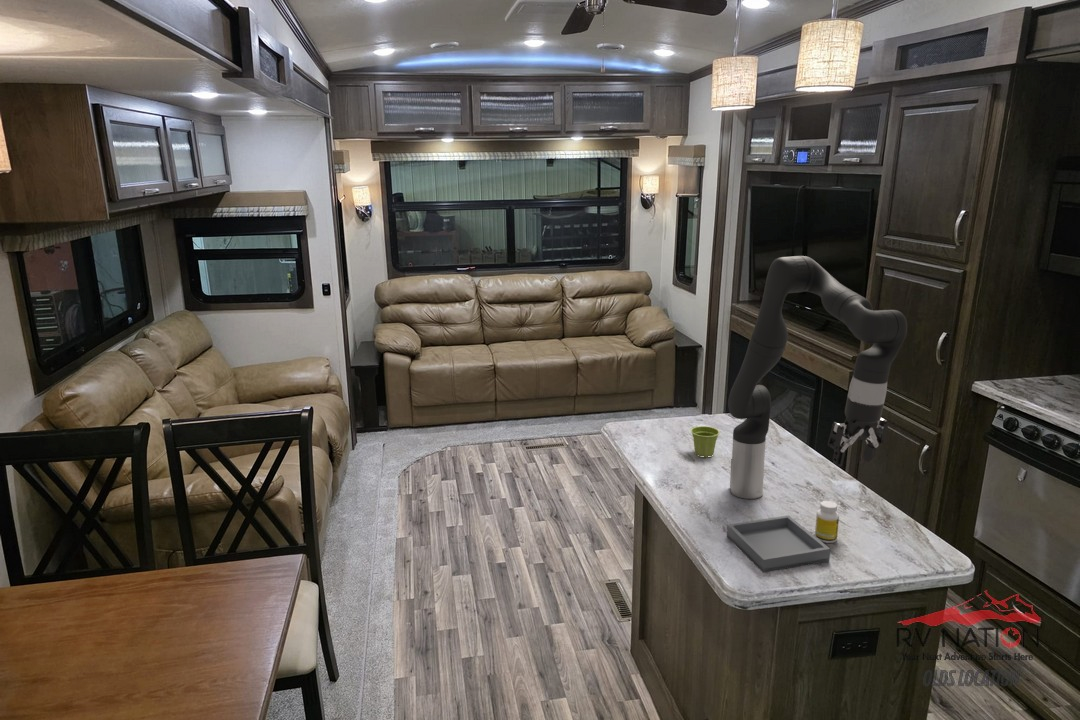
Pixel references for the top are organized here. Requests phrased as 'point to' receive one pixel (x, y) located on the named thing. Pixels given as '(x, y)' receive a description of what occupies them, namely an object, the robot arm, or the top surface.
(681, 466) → the top surface
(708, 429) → the plant pot
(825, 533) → the supplement bottle
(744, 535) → the bin
